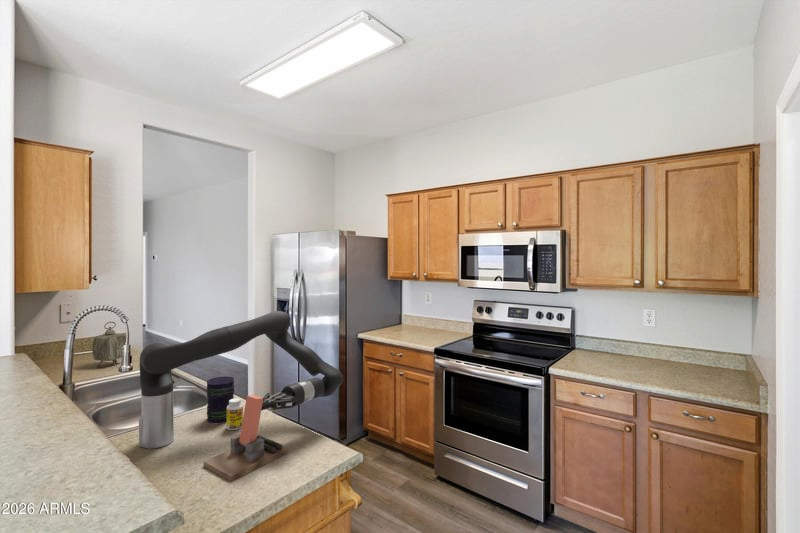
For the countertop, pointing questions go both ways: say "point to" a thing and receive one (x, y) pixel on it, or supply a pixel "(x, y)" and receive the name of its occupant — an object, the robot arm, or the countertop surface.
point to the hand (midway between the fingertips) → (256, 408)
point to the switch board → (244, 457)
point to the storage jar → (219, 398)
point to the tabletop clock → (108, 346)
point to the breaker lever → (250, 419)
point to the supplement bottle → (234, 414)
